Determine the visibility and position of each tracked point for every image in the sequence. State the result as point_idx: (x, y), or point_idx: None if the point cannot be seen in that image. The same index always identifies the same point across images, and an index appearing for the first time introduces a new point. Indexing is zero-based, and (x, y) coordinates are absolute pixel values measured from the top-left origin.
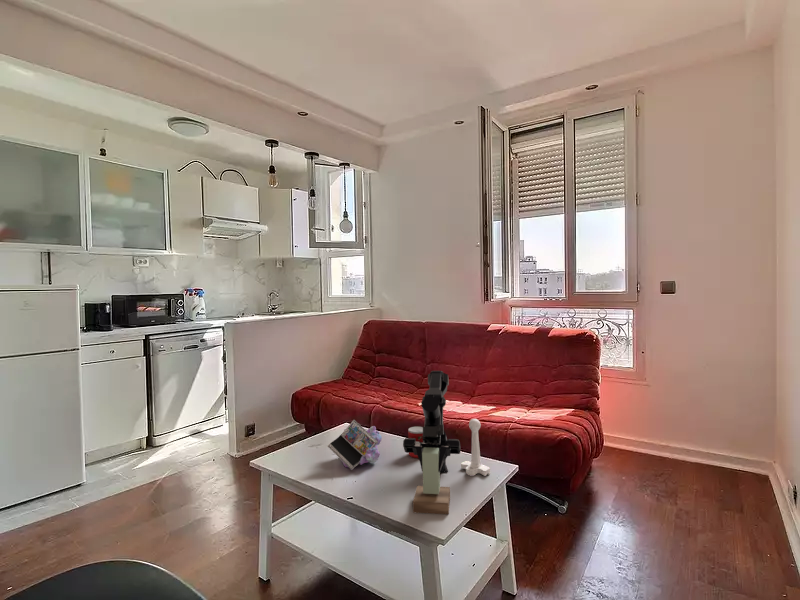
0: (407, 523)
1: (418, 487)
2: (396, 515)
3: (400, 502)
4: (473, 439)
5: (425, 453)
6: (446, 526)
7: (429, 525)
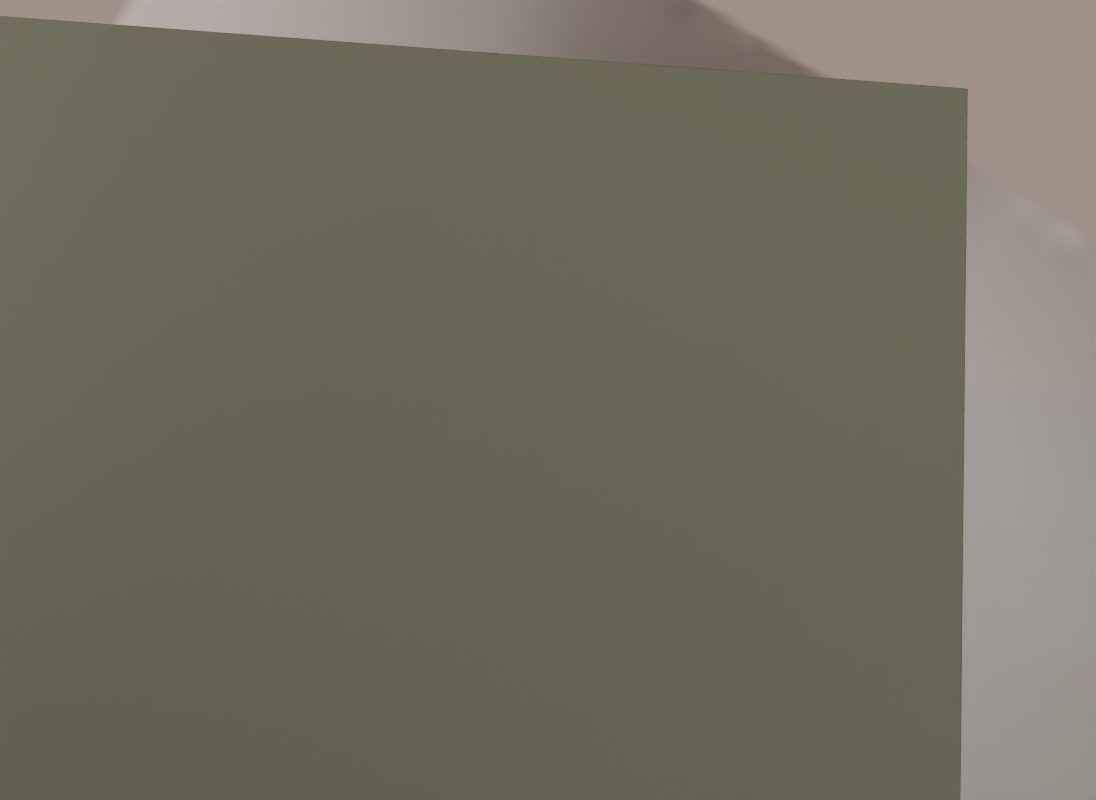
0: (808, 71)
1: None
2: (1005, 279)
3: (1011, 700)
4: None
5: (528, 83)
6: (249, 12)
7: (489, 30)
